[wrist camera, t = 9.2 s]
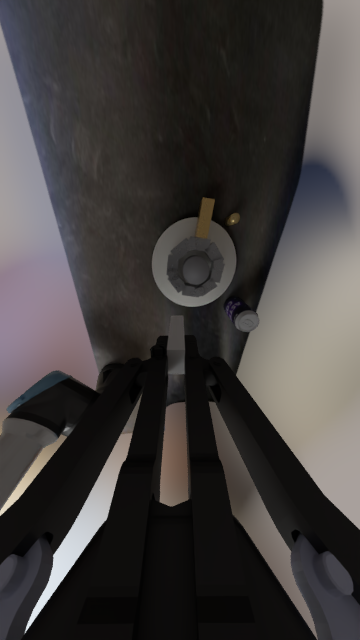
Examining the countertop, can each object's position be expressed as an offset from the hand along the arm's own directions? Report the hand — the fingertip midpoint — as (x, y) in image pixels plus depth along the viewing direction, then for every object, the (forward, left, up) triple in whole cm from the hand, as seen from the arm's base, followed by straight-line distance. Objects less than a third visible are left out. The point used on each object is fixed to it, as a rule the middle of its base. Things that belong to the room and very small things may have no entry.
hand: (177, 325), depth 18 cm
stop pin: (+18, -4, -26) cm, 32 cm away
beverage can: (+1, -18, -27) cm, 32 cm away
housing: (+5, -2, -26) cm, 27 cm away
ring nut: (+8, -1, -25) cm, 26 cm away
